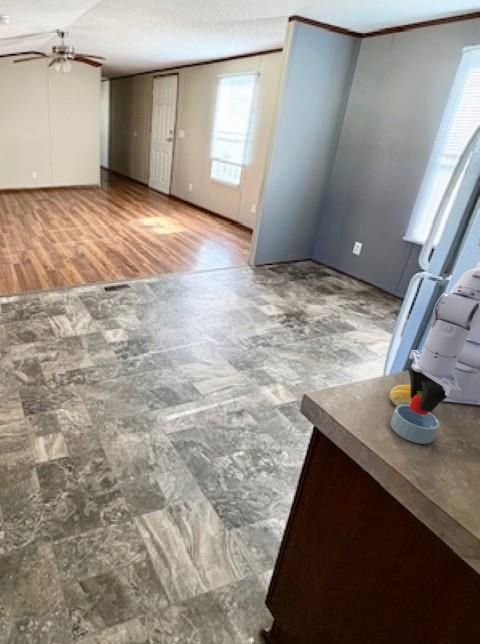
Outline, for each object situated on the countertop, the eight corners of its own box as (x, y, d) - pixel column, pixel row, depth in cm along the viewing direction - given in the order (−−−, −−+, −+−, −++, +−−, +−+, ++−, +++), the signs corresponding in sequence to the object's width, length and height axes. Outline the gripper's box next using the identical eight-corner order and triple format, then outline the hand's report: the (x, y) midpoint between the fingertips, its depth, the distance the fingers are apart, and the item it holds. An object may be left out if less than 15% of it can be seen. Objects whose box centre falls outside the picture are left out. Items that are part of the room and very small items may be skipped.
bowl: (420, 422, 97) (426, 406, 96) (440, 447, 90) (448, 431, 88) (383, 418, 99) (388, 402, 97) (400, 443, 91) (406, 426, 89)
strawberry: (422, 405, 93) (428, 390, 92) (431, 415, 90) (437, 400, 89) (406, 403, 94) (411, 388, 92) (414, 413, 91) (420, 398, 89)
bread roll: (431, 401, 104) (437, 388, 103) (426, 419, 98) (431, 405, 97) (393, 387, 110) (397, 374, 108) (385, 403, 104) (389, 389, 102)
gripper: (402, 331, 93) (385, 382, 99) (441, 368, 80) (418, 424, 85) (437, 334, 92) (418, 385, 98) (482, 372, 79) (457, 428, 84)
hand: (420, 404), depth 91 cm, fingers closed on strawberry, 3 cm apart
